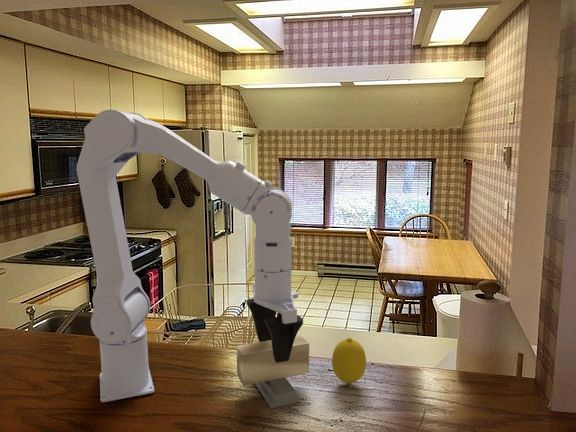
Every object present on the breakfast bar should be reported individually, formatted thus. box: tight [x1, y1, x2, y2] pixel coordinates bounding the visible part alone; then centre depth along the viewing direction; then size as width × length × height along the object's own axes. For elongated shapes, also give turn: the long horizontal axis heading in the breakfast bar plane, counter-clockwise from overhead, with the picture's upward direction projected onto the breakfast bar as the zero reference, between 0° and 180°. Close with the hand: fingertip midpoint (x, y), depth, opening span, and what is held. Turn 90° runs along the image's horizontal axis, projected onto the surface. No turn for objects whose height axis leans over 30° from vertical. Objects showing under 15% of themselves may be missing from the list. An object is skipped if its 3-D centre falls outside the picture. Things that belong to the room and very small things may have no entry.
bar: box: [236, 335, 310, 386], centre depth 77 cm, size 4×11×5 cm, turn 112°
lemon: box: [331, 337, 367, 386], centre depth 79 cm, size 6×6×8 cm
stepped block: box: [254, 377, 300, 409], centre depth 77 cm, size 10×4×3 cm, turn 22°
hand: (273, 350), depth 76 cm, fingers open, 7 cm apart
